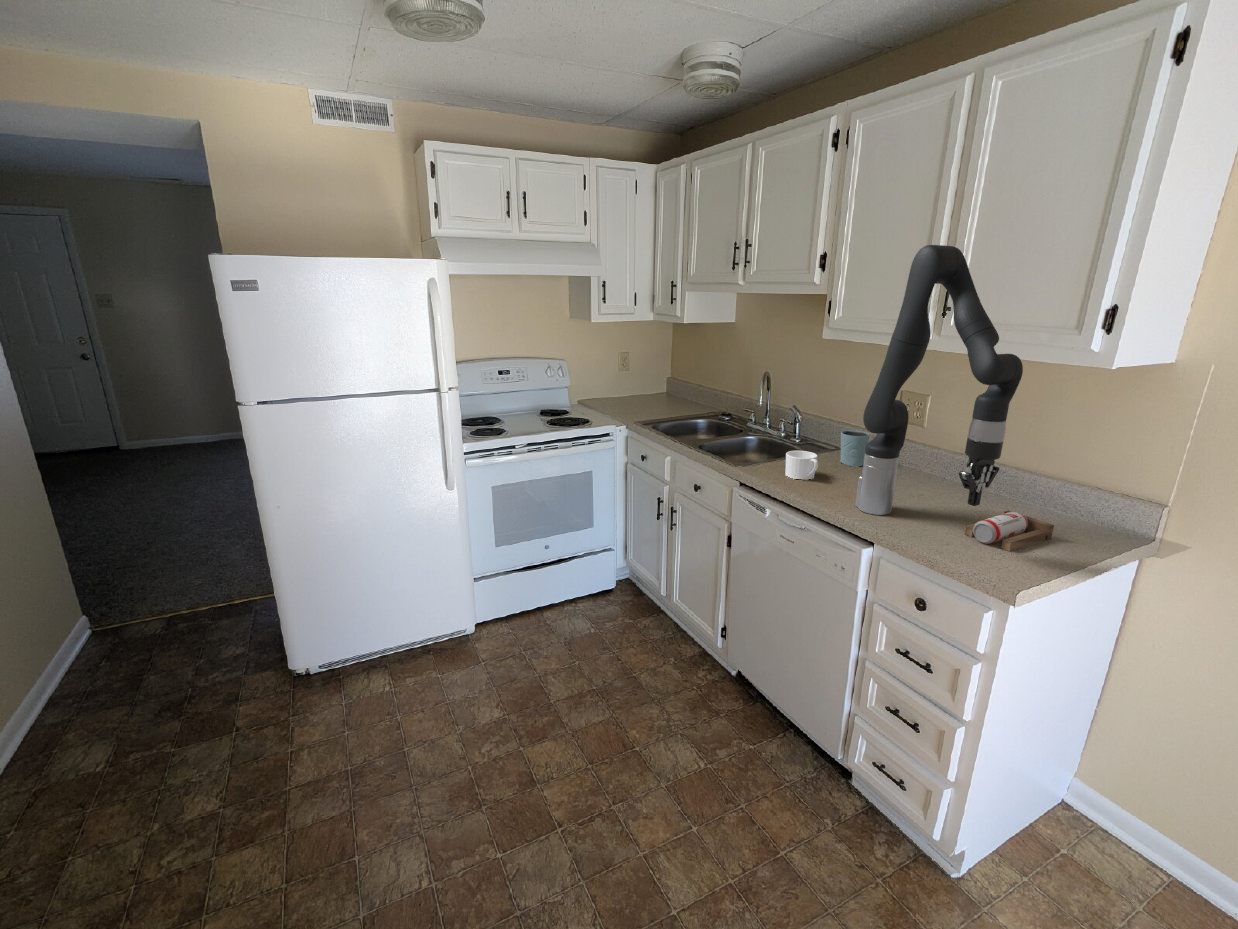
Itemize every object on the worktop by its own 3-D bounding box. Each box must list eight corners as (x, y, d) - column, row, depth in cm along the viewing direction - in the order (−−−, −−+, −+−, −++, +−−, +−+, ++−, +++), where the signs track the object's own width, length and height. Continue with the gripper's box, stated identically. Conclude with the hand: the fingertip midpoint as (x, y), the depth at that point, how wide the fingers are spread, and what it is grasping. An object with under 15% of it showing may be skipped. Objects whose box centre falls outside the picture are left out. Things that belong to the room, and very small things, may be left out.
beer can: (974, 545, 156) (1009, 534, 163) (998, 543, 151) (1033, 532, 158) (968, 522, 157) (1003, 512, 164) (991, 519, 151) (1026, 509, 159)
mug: (778, 474, 213) (779, 452, 210) (801, 470, 217) (803, 449, 214) (803, 485, 201) (805, 462, 199) (827, 481, 205) (829, 458, 203)
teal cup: (853, 469, 219) (857, 437, 215) (831, 462, 227) (835, 431, 224) (871, 465, 223) (875, 434, 220) (850, 458, 232) (853, 428, 228)
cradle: (964, 534, 160) (967, 520, 159) (1006, 523, 168) (1008, 510, 167) (1009, 551, 150) (1012, 537, 149) (1051, 539, 158) (1054, 525, 157)
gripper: (987, 431, 149) (975, 496, 154) (953, 437, 144) (942, 504, 149) (1017, 437, 143) (1004, 505, 148) (983, 444, 137) (971, 514, 142)
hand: (973, 504), depth 148 cm, fingers closed
